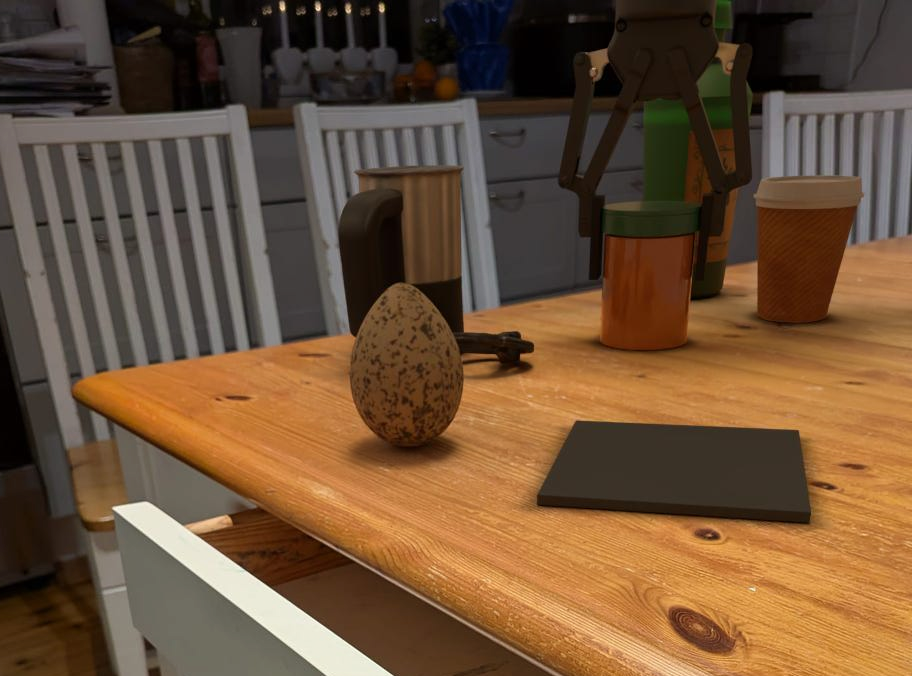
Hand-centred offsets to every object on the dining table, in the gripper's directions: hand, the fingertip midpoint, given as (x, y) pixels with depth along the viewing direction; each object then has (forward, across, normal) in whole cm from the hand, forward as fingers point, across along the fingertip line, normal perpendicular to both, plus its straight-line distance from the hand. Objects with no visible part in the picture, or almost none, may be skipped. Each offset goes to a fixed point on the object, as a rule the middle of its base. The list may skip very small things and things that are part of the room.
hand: (646, 277), depth 83 cm
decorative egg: (+6, +12, +32) cm, 35 cm away
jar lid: (-5, 0, 0) cm, 5 cm away
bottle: (+6, -2, -24) cm, 25 cm away
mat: (+5, -5, +34) cm, 35 cm away
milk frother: (+6, +16, +8) cm, 19 cm away
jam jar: (+5, 0, 0) cm, 5 cm away
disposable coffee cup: (+5, -13, -12) cm, 19 cm away
